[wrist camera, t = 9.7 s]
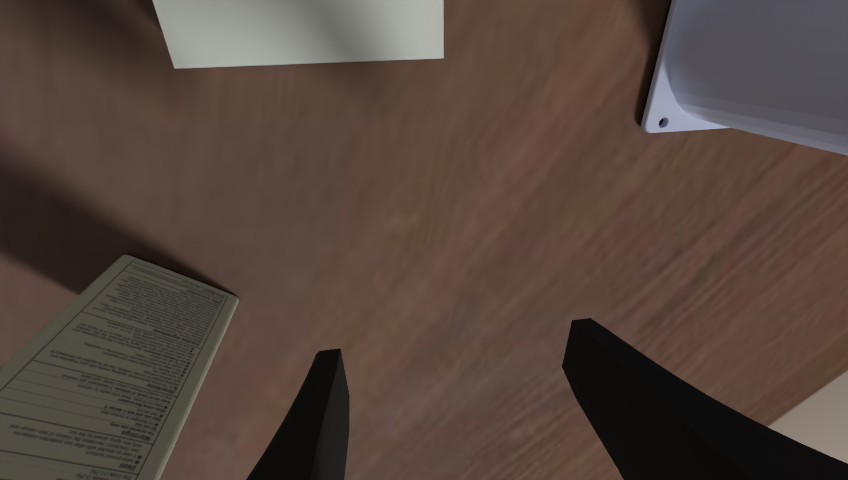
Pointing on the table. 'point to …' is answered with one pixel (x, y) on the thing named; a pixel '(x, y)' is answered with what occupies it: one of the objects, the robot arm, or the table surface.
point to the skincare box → (111, 377)
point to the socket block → (299, 31)
